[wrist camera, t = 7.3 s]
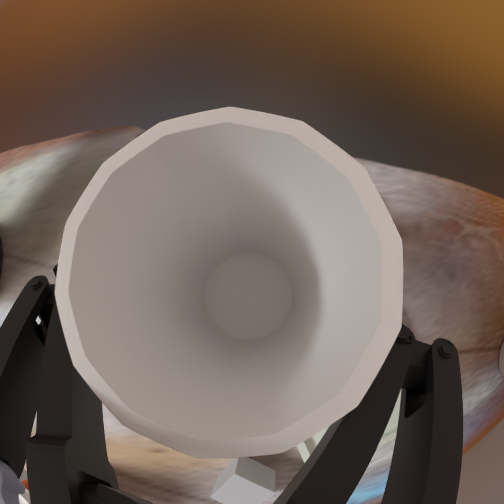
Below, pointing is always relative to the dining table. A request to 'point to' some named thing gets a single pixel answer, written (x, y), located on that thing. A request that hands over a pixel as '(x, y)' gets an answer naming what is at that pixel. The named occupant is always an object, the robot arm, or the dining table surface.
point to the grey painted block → (244, 483)
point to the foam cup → (230, 283)
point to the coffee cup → (501, 359)
